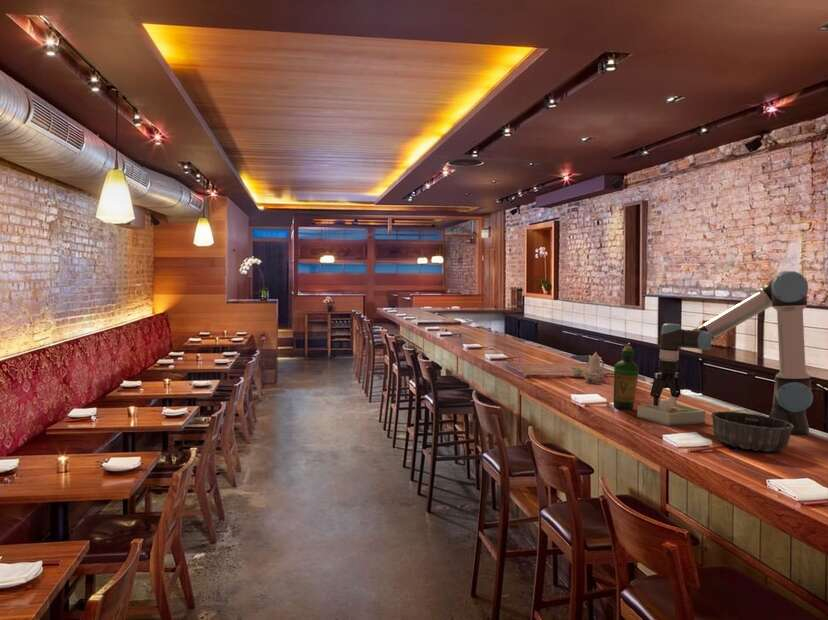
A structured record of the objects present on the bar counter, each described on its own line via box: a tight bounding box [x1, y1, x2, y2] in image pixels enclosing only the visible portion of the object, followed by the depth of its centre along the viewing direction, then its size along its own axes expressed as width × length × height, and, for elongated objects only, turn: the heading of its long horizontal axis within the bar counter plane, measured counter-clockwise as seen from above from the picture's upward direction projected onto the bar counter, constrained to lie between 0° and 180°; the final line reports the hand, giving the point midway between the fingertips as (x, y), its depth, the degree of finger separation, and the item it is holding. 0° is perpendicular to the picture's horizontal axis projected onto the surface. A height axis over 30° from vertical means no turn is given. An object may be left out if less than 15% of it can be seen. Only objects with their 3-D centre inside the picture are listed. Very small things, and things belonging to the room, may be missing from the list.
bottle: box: [613, 346, 640, 411], centre depth 275 cm, size 11×11×28 cm
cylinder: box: [660, 398, 671, 413], centre depth 260 cm, size 5×5×7 cm
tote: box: [636, 403, 706, 427], centre depth 257 cm, size 16×22×5 cm
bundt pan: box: [711, 411, 794, 453], centre depth 221 cm, size 26×26×10 cm
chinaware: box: [569, 352, 605, 384], centre depth 352 cm, size 28×17×17 cm, turn 15°
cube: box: [669, 407, 688, 413], centre depth 254 cm, size 5×5×5 cm
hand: (664, 412), depth 260 cm, fingers open, 9 cm apart
